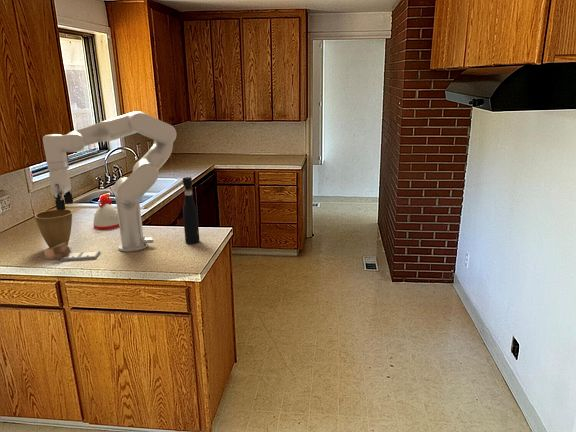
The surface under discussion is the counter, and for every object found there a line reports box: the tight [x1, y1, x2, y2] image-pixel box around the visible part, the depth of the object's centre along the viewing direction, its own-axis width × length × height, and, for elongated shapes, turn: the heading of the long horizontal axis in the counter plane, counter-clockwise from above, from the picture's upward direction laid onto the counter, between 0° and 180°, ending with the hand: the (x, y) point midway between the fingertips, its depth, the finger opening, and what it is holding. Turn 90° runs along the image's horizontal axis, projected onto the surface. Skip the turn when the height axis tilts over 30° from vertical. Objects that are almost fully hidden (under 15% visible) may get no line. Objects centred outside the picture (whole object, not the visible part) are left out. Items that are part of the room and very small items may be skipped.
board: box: [60, 250, 101, 262], centre depth 193 cm, size 14×7×1 cm, turn 98°
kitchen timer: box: [92, 196, 119, 231], centre depth 235 cm, size 14×14×15 cm
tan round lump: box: [44, 247, 58, 261], centre depth 194 cm, size 6×6×4 cm
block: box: [52, 242, 72, 260], centre depth 191 cm, size 4×4×5 cm
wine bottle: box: [182, 176, 200, 245], centre depth 204 cm, size 6×6×30 cm
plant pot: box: [34, 208, 73, 248], centre depth 204 cm, size 15×15×16 cm
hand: (65, 206), depth 187 cm, fingers open, 9 cm apart
